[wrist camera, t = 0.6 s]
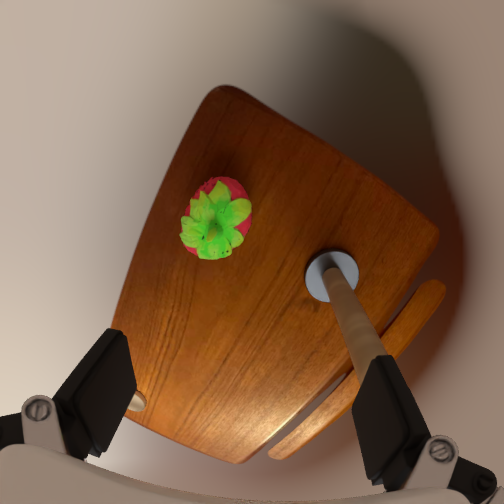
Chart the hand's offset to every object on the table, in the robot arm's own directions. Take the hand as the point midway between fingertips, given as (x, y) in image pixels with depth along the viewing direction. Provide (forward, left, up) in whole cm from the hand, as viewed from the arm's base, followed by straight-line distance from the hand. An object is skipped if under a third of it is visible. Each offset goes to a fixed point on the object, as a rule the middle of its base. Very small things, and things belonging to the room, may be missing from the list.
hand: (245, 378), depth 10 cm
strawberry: (-2, -4, -22) cm, 22 cm away
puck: (+29, -18, -21) cm, 40 cm away
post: (+4, +8, -21) cm, 23 cm away
